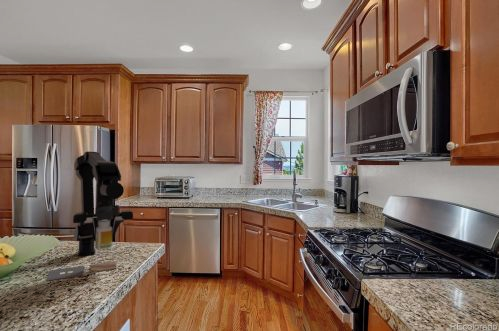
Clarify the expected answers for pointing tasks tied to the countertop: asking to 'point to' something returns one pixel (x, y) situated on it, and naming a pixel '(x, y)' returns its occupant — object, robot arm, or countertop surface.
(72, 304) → the countertop surface
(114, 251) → the countertop surface
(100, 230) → the supplement bottle
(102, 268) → the walnut coaster
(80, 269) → the mat
